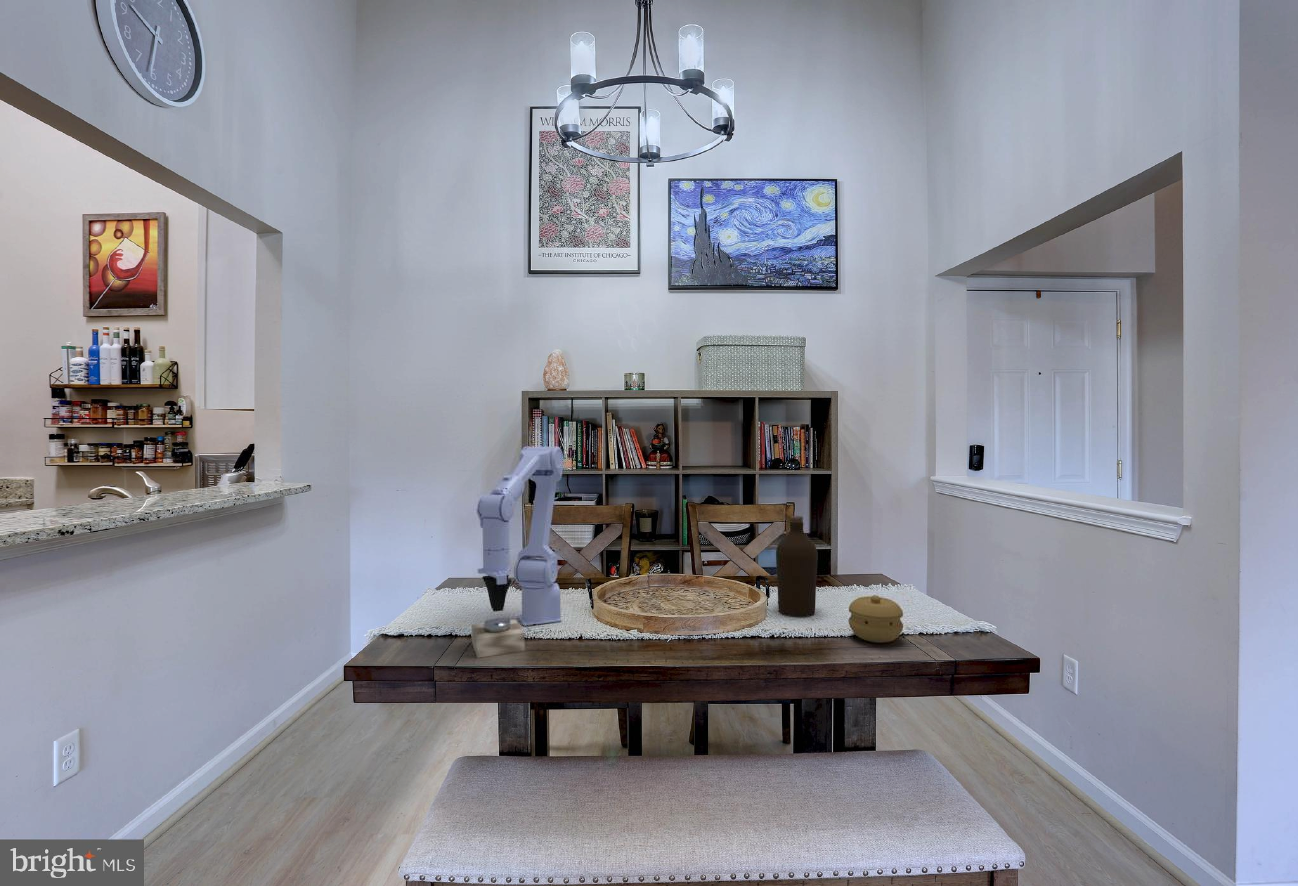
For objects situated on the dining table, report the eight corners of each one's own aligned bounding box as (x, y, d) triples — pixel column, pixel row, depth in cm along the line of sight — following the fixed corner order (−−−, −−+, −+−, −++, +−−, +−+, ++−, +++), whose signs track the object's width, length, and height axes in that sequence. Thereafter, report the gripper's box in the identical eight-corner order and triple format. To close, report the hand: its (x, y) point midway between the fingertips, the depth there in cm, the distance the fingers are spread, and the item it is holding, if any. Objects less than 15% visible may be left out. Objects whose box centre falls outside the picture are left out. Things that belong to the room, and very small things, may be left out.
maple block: (516, 636, 144) (515, 619, 144) (524, 650, 135) (524, 632, 135) (471, 642, 140) (471, 625, 140) (477, 657, 131) (477, 639, 131)
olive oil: (796, 620, 154) (796, 521, 153) (767, 610, 163) (767, 515, 162) (826, 613, 159) (826, 517, 159) (796, 603, 168) (796, 512, 168)
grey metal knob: (508, 638, 141) (507, 616, 141) (512, 646, 136) (512, 624, 136) (482, 642, 139) (482, 620, 139) (486, 650, 134) (486, 627, 134)
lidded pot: (879, 628, 148) (879, 586, 148) (915, 644, 137) (915, 600, 137) (837, 633, 144) (837, 591, 144) (870, 651, 133) (871, 605, 133)
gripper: (473, 544, 142) (474, 602, 142) (482, 556, 128) (483, 620, 129) (504, 541, 145) (505, 599, 145) (516, 553, 131) (517, 616, 132)
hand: (497, 609), depth 137 cm, fingers closed
